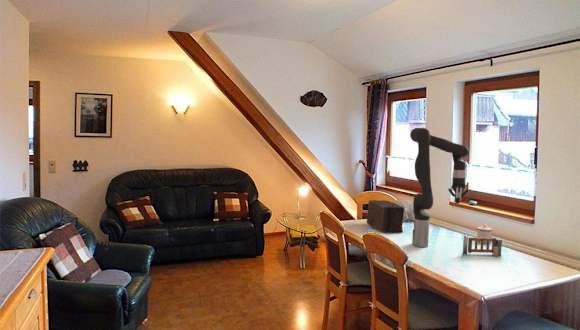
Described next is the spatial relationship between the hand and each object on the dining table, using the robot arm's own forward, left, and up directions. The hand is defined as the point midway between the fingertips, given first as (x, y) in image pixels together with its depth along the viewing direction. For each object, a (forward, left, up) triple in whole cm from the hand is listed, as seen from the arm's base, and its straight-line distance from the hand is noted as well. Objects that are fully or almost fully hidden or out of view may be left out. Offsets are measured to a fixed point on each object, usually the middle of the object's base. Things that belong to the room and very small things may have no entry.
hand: (457, 203), depth 269 cm
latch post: (+16, -23, -27) cm, 39 cm away
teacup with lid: (+22, +10, -27) cm, 36 cm away
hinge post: (-2, -22, -27) cm, 35 cm away
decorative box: (-39, +38, -27) cm, 61 cm away
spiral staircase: (-14, +68, -27) cm, 75 cm away
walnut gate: (+8, -22, -26) cm, 35 cm away
